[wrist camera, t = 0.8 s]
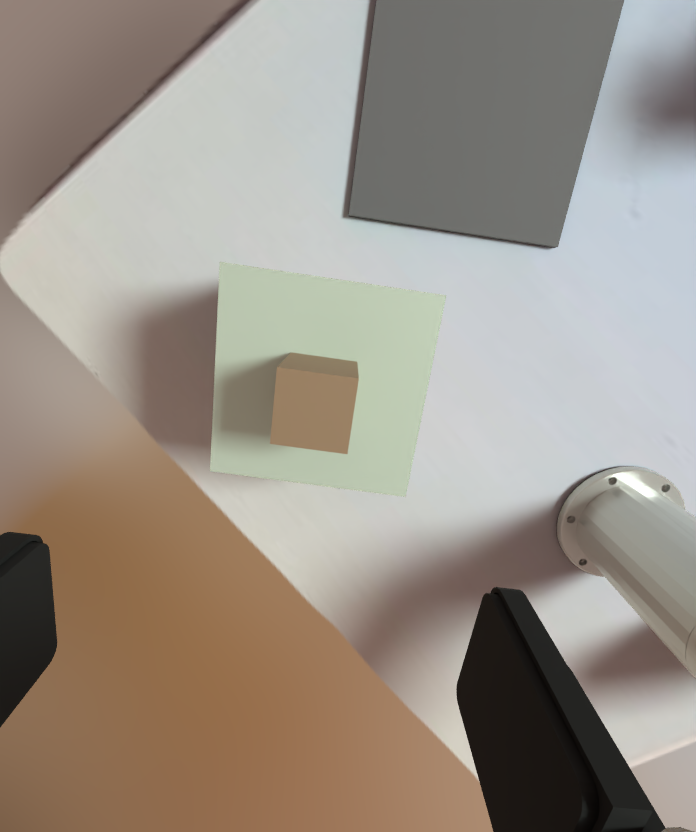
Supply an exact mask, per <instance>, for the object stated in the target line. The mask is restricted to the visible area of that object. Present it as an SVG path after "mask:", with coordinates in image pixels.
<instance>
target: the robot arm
mask: <svg viewBox="0 0 696 832" xmlns="http://www.w3.org/2000/svg"><path fill="white" fill-rule="evenodd" d="M557 537H558V540H559V544H560V546H561V548H562V550H563V552H564V553H565V555H566V556H567V557H568V558H569V559H570V561H571V562H572V563H573V564H574V565H576V566H577V567H578V568H580V569H581V570H583V571H585V572H587V573H590V574H593V575H596V576H602V577H605V578H606V579H607V580H608V581H609V582H610V583H611V584H612V586H613V587H614V588H615V589H616V590H617V591H618V592H619V593H620V595H621V596H622V597H623V598H624V599H625V600H626V601H627V602H628V604H629V605H630V606H631V607H632V608H633V609H634V610H635V611H636V613H637V614H638V615H639V616H640V617H641V618H642V619H643V620H644V622H645V623H646V624H647V625H648V626H649V627H650V628H651V629H652V631H653V632H654V633H655V634H656V635H657V636H658V637H659V638H660V640H661V641H662V642H663V643H664V644H665V645H666V646H667V647H668V649H669V650H670V651H671V652H672V653H673V654H674V655H675V656H676V658H677V659H678V660H679V661H680V662H681V663H682V664H683V665H684V667H685V668H686V669H687V670H688V671H689V672H690V673H691V674H692V676H693V677H694V678H695V679H696V517H695V516H694V515H692V514H691V513H689V512H688V511H686V510H685V504H684V500H683V498H682V496H681V493H680V491H679V490H678V489H677V488H676V486H675V485H674V484H673V483H672V482H670V481H669V480H668V479H666V478H665V477H663V476H662V475H660V474H658V473H656V472H655V471H652V470H649V469H646V468H641V467H634V466H629V467H617V468H613V469H608V470H606V471H603V472H600V473H598V474H596V475H594V476H592V477H590V478H589V479H587V480H585V481H584V482H583V483H582V484H580V485H579V486H578V487H577V488H576V489H575V490H574V491H573V492H572V493H571V494H570V495H569V497H568V498H567V500H566V501H565V503H564V505H563V506H562V509H561V511H560V514H559V516H558V522H557ZM50 565H51V564H50V552H49V547H48V545H47V544H44V543H43V541H42V539H41V537H40V536H37V535H31V534H22V533H14V532H7V533H4V534H2V535H0V727H1V726H2V724H3V723H4V722H5V720H6V719H7V718H8V717H9V715H10V714H11V713H12V711H13V710H14V709H15V708H16V706H17V705H18V704H19V703H20V701H21V700H22V699H23V697H24V696H25V695H26V693H27V692H28V691H29V689H30V688H31V687H32V686H33V684H34V683H35V682H36V681H37V679H38V678H39V677H40V675H41V674H42V673H43V671H44V670H45V669H46V668H47V666H48V665H49V664H50V662H51V661H52V658H53V657H54V654H55V652H56V648H57V636H56V624H55V612H54V600H53V589H52V576H51V566H50ZM457 701H458V705H459V709H460V713H461V716H462V720H463V723H464V727H465V731H466V734H467V738H468V741H469V745H470V749H471V752H472V756H473V759H474V763H475V767H476V770H477V774H478V777H479V781H480V785H481V788H482V792H483V795H484V799H485V802H486V806H487V809H488V813H489V817H490V820H491V824H492V828H493V831H494V832H693V831H690V830H687V829H684V828H681V827H676V828H675V827H673V828H665V826H664V825H663V823H662V821H661V820H660V818H659V817H658V815H657V813H656V811H655V810H654V808H653V806H652V805H651V803H650V801H649V800H648V798H647V796H646V795H645V793H644V791H643V790H642V788H641V786H640V785H639V783H638V781H637V780H636V778H635V776H634V774H633V773H632V771H631V769H630V768H629V766H628V764H627V763H626V761H625V759H624V758H623V756H622V754H621V753H620V751H619V749H618V748H617V746H616V744H615V743H614V741H613V739H612V738H611V736H610V734H609V733H608V731H607V729H606V728H605V726H604V724H603V722H602V721H601V719H600V717H599V716H598V714H597V712H596V711H595V709H594V707H593V706H592V704H591V702H590V701H589V699H588V697H587V696H586V694H585V692H584V691H583V689H582V687H581V686H580V684H579V682H578V681H577V679H576V677H575V676H574V674H573V672H572V671H571V670H570V668H569V667H568V666H567V664H566V663H565V661H564V659H563V658H562V656H561V654H560V653H559V651H558V649H557V648H556V646H555V644H554V642H553V641H552V639H551V637H550V636H549V634H548V632H547V631H546V629H545V627H544V626H543V624H542V622H541V621H540V619H539V617H538V615H537V614H536V612H535V610H534V609H533V607H532V605H531V604H530V602H529V600H528V599H527V597H526V595H525V594H524V593H523V591H521V590H516V589H507V588H498V587H496V588H493V589H492V591H491V593H490V594H489V593H486V594H485V595H484V596H483V598H482V602H481V605H480V608H479V612H478V615H477V618H476V622H475V625H474V629H473V632H472V635H471V639H470V642H469V645H468V649H467V652H466V655H465V659H464V662H463V666H462V669H461V672H460V676H459V679H458V682H457Z"/></svg>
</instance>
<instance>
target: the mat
mask: <svg viewBox="0 0 696 832" xmlns="http://www.w3.org/2000/svg"><path fill="white" fill-rule="evenodd" d="M623 3H624V0H376V7H375V15H374V22H373V30H372V38H371V46H370V53H369V61H368V69H367V77H366V85H365V92H364V100H363V108H362V116H361V123H360V131H359V139H358V147H357V154H356V162H355V170H354V178H353V185H352V193H351V201H350V209H349V216H352V217H359V218H365V219H372V220H378V221H385V222H391V223H397V224H404V225H410V226H417V227H423V228H430V229H436V230H443V231H449V232H456V233H462V234H469V235H475V236H482V237H488V238H495V239H501V240H508V241H514V242H521V243H527V244H534V245H540V246H547V247H553V248H555V247H558V244H559V240H560V237H561V233H562V229H563V225H564V222H565V218H566V214H567V211H568V207H569V203H570V199H571V196H572V192H573V188H574V185H575V181H576V177H577V173H578V170H579V166H580V162H581V159H582V155H583V151H584V147H585V144H586V140H587V136H588V133H589V129H590V125H591V121H592V118H593V114H594V110H595V107H596V103H597V99H598V96H599V92H600V88H601V84H602V81H603V77H604V73H605V70H606V66H607V62H608V58H609V55H610V51H611V47H612V44H613V40H614V36H615V32H616V29H617V25H618V21H619V18H620V14H621V10H622V6H623Z"/></svg>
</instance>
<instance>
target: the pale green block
mask: <svg viewBox="0 0 696 832" xmlns="http://www.w3.org/2000/svg"><path fill="white" fill-rule="evenodd" d="M445 299H446V295H439V294H433V293H426V292H419V291H413V290H406V289H399V288H392V287H386V286H379V285H372V284H365V283H359V282H352V281H345V280H338V279H332V278H325V277H318V276H311V275H305V274H298V273H291V272H285V271H278V270H271V269H264V268H258V267H251V266H244V265H237V264H231V263H224V262H220V268H219V289H218V311H217V332H216V353H215V374H214V396H213V417H212V438H211V459H210V471H211V472H219V473H227V474H234V475H242V476H250V477H257V478H265V479H273V480H280V481H288V482H296V483H303V484H311V485H319V486H326V487H334V488H342V489H349V490H357V491H364V492H372V493H380V494H387V495H395V496H403V497H406V492H407V487H408V482H409V477H410V472H411V467H412V462H413V457H414V452H415V447H416V442H417V437H418V432H419V427H420V423H421V418H422V413H423V408H424V403H425V398H426V393H427V388H428V383H429V378H430V373H431V368H432V363H433V358H434V353H435V348H436V343H437V339H438V334H439V329H440V324H441V319H442V314H443V309H444V304H445Z"/></svg>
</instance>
